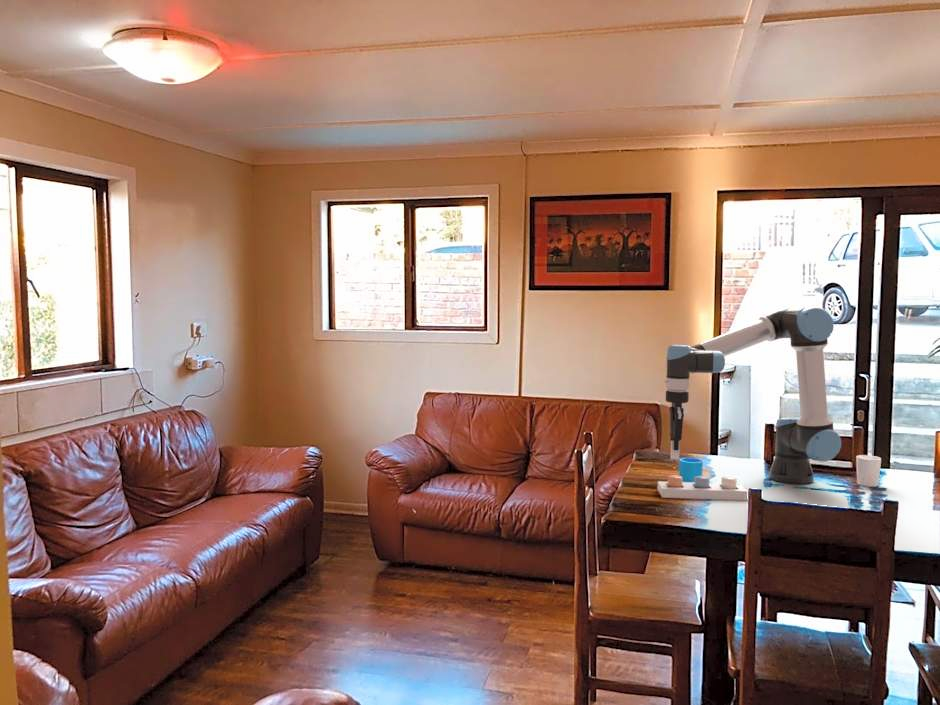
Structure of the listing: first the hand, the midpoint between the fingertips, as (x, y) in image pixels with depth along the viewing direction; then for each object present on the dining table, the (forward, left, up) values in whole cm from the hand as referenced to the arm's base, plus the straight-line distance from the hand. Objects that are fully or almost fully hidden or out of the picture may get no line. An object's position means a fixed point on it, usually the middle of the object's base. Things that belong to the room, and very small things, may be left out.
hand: (674, 458), depth 251 cm
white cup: (-72, -21, -13) cm, 76 cm away
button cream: (-18, 0, -10) cm, 21 cm away
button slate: (-9, 0, -10) cm, 14 cm away
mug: (-8, -19, -13) cm, 24 cm away
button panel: (-9, 0, -12) cm, 15 cm away
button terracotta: (0, 0, -10) cm, 10 cm away
